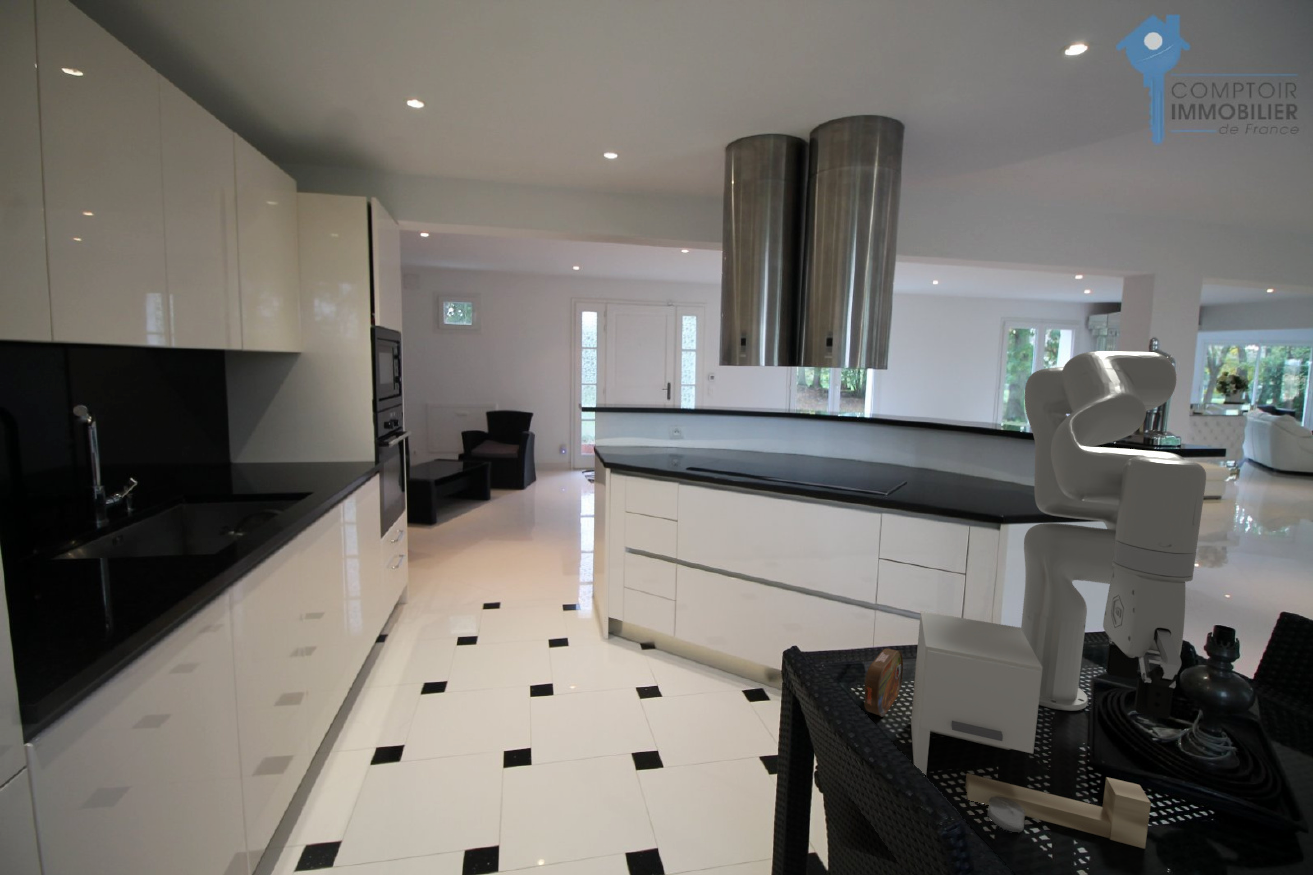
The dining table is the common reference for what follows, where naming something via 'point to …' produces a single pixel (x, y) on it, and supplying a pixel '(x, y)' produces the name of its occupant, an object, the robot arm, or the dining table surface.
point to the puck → (1006, 813)
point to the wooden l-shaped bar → (1077, 808)
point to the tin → (883, 681)
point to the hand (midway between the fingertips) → (1135, 694)
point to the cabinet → (974, 685)
